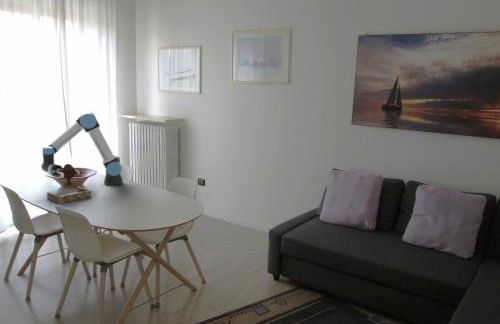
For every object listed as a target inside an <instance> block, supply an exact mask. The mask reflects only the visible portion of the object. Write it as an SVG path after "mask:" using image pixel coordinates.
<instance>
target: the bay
mask: <svg viewBox="0 0 500 324" xmlns="http://www.w3.org/2000/svg"><path fill="white" fill-rule="evenodd" d="M76 187H77V188H76V192H72V193H68V194H61V195H57V194H54V193H51V192H46V197H47V198H46V199H47V201H51V202H54V203H57V204H58V205H63V204H66V203H71V202H75V201H80V200H84V199H88V198H92V191H91V190H90V189H86V188H84V187H81V186H76Z"/></svg>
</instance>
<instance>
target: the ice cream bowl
mask: <svg viewBox="0 0 500 324" xmlns="http://www.w3.org/2000/svg"><path fill="white" fill-rule="evenodd" d="M63 168H64V169H62V170H61V173H64V177H62V178H63V179H65V180H66V181H67V182H66V183H65V184H64V186H73V185H74V183H72V182H71V180H72V179H74V177H75V176H76V175H77V174H76V172H77V171H75V169H76V168H75V167H73V165H72V164H70V163H67V164H65V165H64V166H63Z"/></svg>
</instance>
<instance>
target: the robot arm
mask: <svg viewBox="0 0 500 324" xmlns="http://www.w3.org/2000/svg"><path fill="white" fill-rule="evenodd" d="M100 127H101V125H100V123H99V121H98V119H97V118H96V115H95V114H94V113H93V112H91V111H84V112H82V113H81V115H80V116H79V117H78V118H77V119H76V120H75V123H74V124H72V125H71V126H69V128H68V129H67V130H65V131H64V132H63V133H62V134H60V136H58V137H57V138H56V139H55V140H54V141H53V142H51V143H50V144H49V145H48V146H44V147H42V161H43V162H42V163H41V165H40V167H41V170H42V171H44V172H45V173H50V174H51V175H52V176H53V177H57V178H58V177H61V178H63V177H64V173H61V170H62V169H64V167H63V166H62V165H60V164H57V163H55V154H56V153H58V152H59V151H60V150H61V149H62V148H63V147H64V146H66V145H67V144H68V143H69V142H70V141H72V140H73V139H74V138H75V137H76V136H77V135H78V134H79V133H81V132H82V131H84V132H85V133H86V134H88V135H89V137H90V138H91V140H92V142H93V145H95V147H96V149H97V151H98V153H99V155H100V156H101V159H102V164H103V166H104V168H105V177H104V180H103V185H105V186H110V187H111V186H112V187H113V186H119V185H122V184H123V183H124V180H123V178H122V174H121V173H122V170H123V167H122V164H121V158H120V156H116V155H114V154H113V152H112V149H111V148H110V146H109V145H108V142H107V141H106V139H105V137H104V135H103V133H102V130H100ZM74 169H75V171H77V172H76V175H78V176H80V170H78V168H74Z"/></svg>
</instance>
